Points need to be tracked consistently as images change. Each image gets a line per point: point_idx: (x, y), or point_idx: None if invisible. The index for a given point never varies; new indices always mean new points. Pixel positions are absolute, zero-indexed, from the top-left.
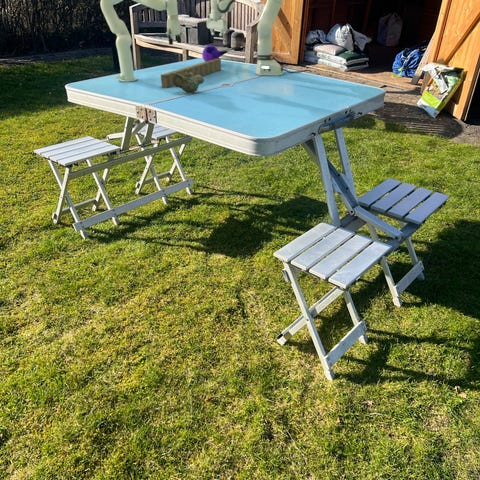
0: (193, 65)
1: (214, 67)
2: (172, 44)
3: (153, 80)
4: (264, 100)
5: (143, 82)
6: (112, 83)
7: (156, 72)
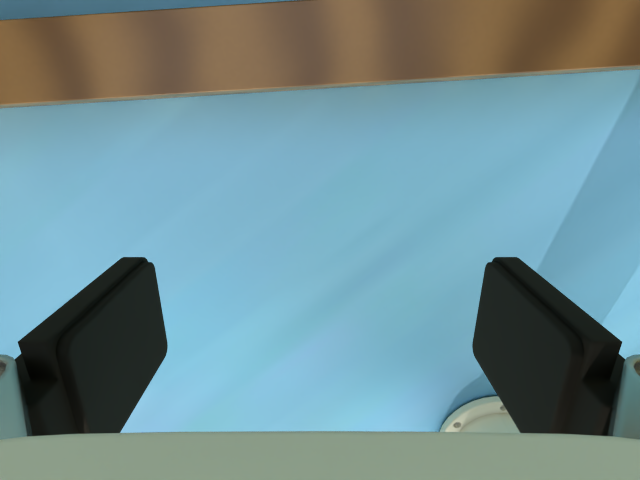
0: (128, 83)
1: None
2: (507, 259)
3: (438, 302)
4: None
5: None
6: None
7: None
